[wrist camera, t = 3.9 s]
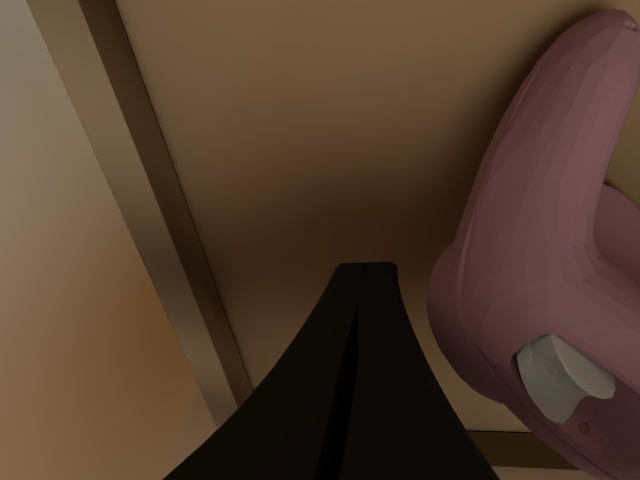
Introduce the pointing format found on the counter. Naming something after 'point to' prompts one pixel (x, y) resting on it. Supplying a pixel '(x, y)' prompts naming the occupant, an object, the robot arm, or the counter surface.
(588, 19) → the video game controller
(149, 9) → the counter surface
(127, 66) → the shallow wooden tray
